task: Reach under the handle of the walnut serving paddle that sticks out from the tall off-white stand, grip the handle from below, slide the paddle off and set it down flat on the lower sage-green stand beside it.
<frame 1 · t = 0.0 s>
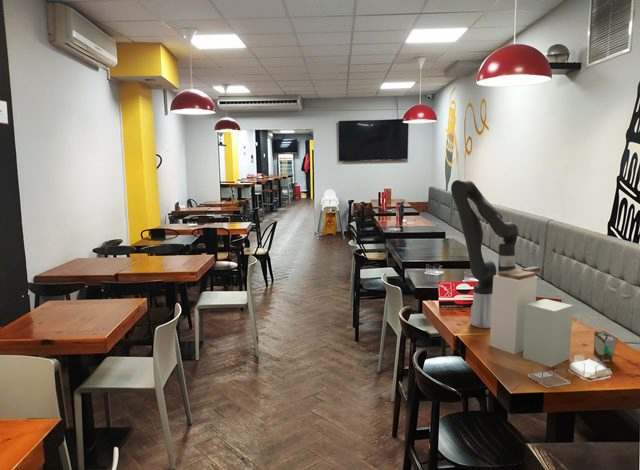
hand: (507, 298, 221), 17 cm above the table, tool pointing down, fingers open, 8 cm apart
low stand: (545, 358, 194), on the table
serving paddle: (524, 273, 206), point 32 cm above the table, touching tall stand
tall stand: (511, 346, 207), on the table
food container: (605, 360, 192), on the table
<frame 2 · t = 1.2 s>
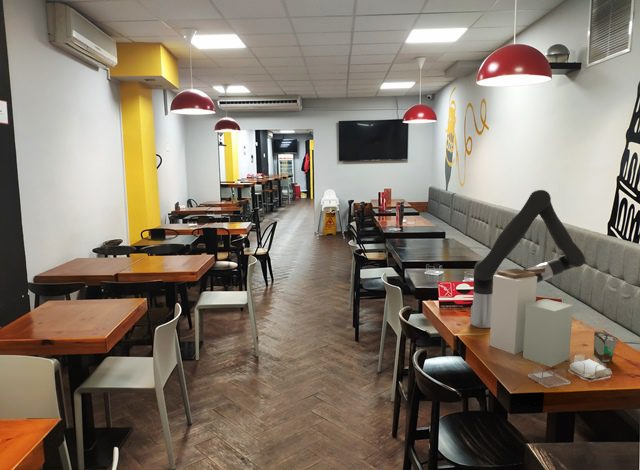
hand: (505, 286, 217), 24 cm above the table, tool tilted 65°, fingers open, 7 cm apart
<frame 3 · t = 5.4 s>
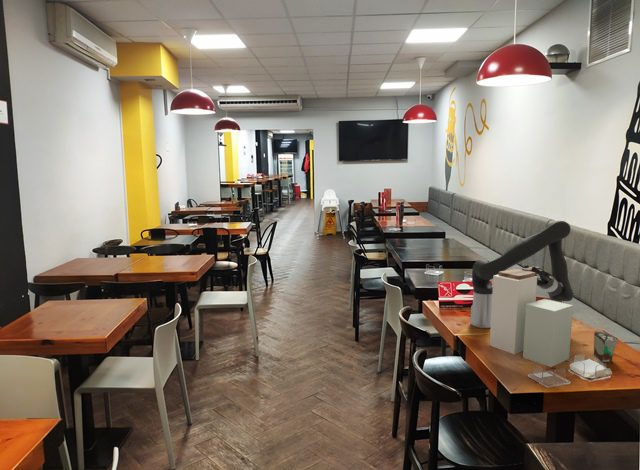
hand: (529, 267, 208), 34 cm above the table, tool pointing upward, fingers closed on serving paddle, 3 cm apart
serving paddle: (524, 273, 206), point 32 cm above the table, touching gripper, tall stand
everything else where it was.
when the fingers open (27 cm above the table, at t = 13.9 s): serving paddle stays where it is, resting on low stand.
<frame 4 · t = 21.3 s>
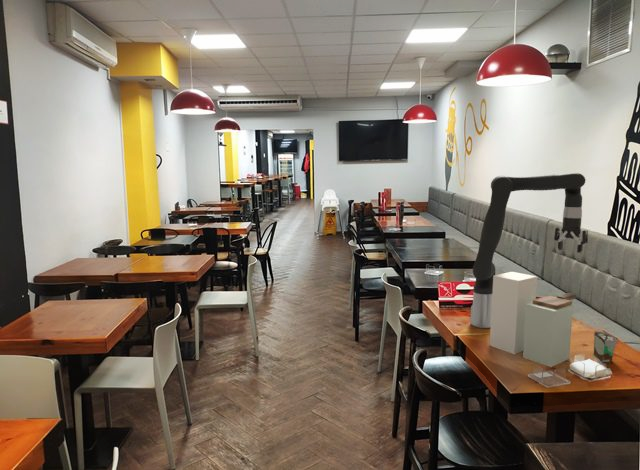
hand: (569, 251, 217), 40 cm above the table, tool pointing down, fingers open, 8 cm apart
serving paddle: (559, 301, 195), point 23 cm above the table, touching low stand
everything else where it was.
at the end: serving paddle inside the target area (1.0 cm from its centre), point 23.0 cm above the table; serving paddle tilted 0°; the gripper is holding nothing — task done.
